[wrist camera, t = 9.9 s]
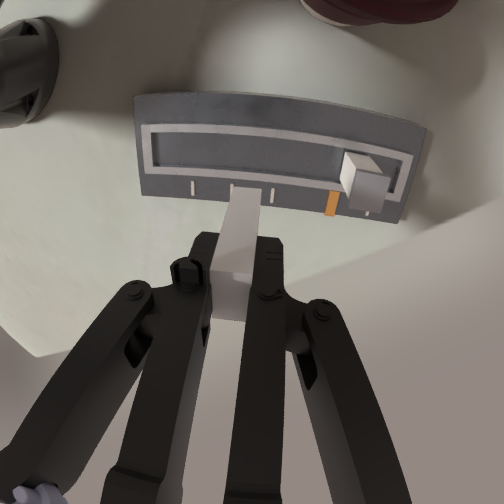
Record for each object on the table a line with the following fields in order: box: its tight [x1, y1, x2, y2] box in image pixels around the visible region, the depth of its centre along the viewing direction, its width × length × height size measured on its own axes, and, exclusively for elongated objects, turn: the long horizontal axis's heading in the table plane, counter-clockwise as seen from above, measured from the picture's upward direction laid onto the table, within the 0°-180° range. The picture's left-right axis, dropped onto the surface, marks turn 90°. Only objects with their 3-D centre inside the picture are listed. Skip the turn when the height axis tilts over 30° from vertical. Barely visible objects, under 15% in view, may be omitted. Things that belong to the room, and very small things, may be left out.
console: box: [133, 91, 426, 224], centre depth 26 cm, size 28×11×3 cm, turn 86°
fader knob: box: [340, 151, 391, 213], centre depth 22 cm, size 3×3×6 cm
